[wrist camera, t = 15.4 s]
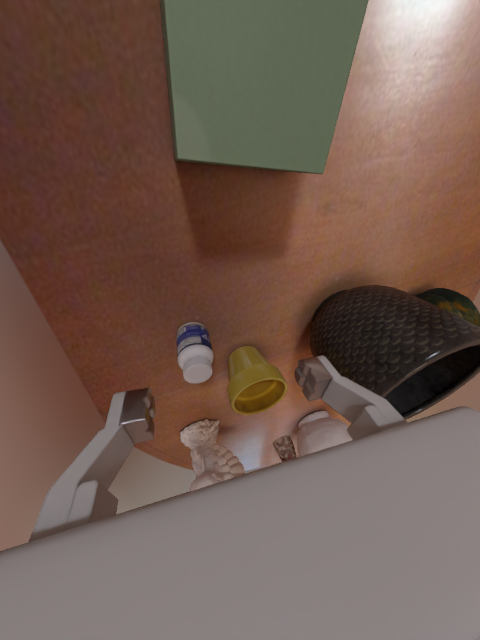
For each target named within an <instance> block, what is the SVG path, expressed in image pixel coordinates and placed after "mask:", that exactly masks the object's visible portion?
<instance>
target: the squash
mask: <svg viewBox="0 0 480 640" xmlns="http://www.w3.org/2000/svg"><path fill="white" fill-rule="evenodd" d="M415 296H416V297H418V298H420V299H423V300H425V301H427V302H429V303H431V304H433V305H436V306H438V307H440V308H442V309H444V310H446V311H448V312H451V313H453V314H455V315H457V316H459V317H461V318H463V319H464V320H466V321H468V322H470V323H472V324H474V325H476V326H478V327H480V314H479V311H478V309H477V308H476V307H475V305H474V304H473V303H472V301H471V300H470V299H469V298H467V297H466V296H464V295H462V294H460V293H458V292H456V291H453V290H449V289H445V288H435V289H430V290H427V291H426V292H424V293H421V294H417V295H415Z"/></svg>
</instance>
